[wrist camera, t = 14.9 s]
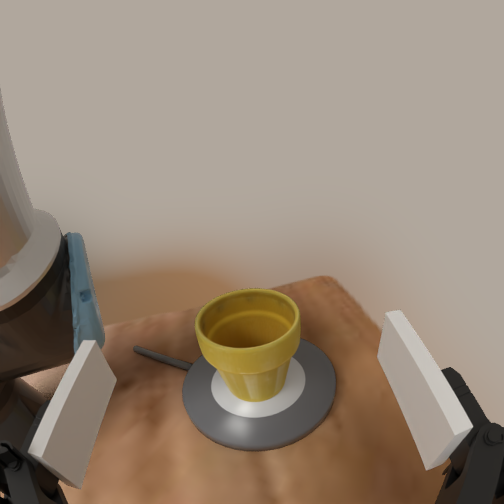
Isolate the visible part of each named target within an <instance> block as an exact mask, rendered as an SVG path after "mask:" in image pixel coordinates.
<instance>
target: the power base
mask: <svg viewBox="0 0 504 504" xmlns="http://www.w3.org/2000/svg"><path fill="white" fill-rule="evenodd" d="M133 350H134V351H135V352H137V353H140V354H142V355H145V356H148V357H150V358H153V359H156V360H159V361H162V362H164V363H167V364H170V365H173V366H176V367H179V368H182V369H185V370H189V371H188V373H187V375H186V377H185V380H184V383H183V390H182V393H183V402H184V406H185V408H186V411H187V413H188V415H189V417H190V419H191V421H192V422H193V424H194V425H195V427H196V428H197V429H198V430H199V431H200V432H201V433H202V434H203V435H205V436H206V437H207V438H209V439H210V440H212V441H214V442H215V443H218V444H220V445H222V446H225V447H228V448H232V449H235V450H242V451H267V450H273V449H278V448H282V447H285V446H287V445H290V444H293V443H295V442H297V441H299V440H301V439H303V438H304V437H306V436H307V435H309V434H310V433H312V432H313V431H314V430H315V429H316V428H317V427H318V426H319V425H320V424H321V423H322V422H323V420H324V419H325V418H326V416H327V415H328V413H329V411H330V409H331V407H332V404H333V401H334V397H335V389H336V377H335V371H334V368H333V366H332V364H331V362H330V360H329V358H328V357H327V356H326V355H325V353H323V352H322V351H321V350H320V349H319V348H318V347H316V346H315V345H314V344H312V343H310V342H308V341H306V340H304V339H301V338H300V343H299V346H298V349H297V351H296V352H295V354H294V355H293V356H292V357H291V360H290V364H289V368H288V372H287V376H286V380H285V384H284V386H283V388H282V389H281V391H280V392H279V393H278V394H277V395H275V396H274V397H272V398H270V399H268V400H265V401H261V402H248V401H244V400H241V399H239V398H237V397H236V396H234V395H233V394H232V393H231V392H230V390H229V388H228V387H227V385H226V384H225V382H224V380H223V379H222V377H221V375H220V374H219V372H218V370H217V369H216V368H215V367H214V366H212V365H211V364H210V363H209V362H208V361H207V360H206V359H205V357H204V356H203V355H201V356H200V357H199V358H198V359H197V360H196V361H195V362H194V364H190V363H187V362H184V361H181V360H178V359H174V358H171V357H168V356H165V355H162V354H159V353H156V352H153V351H150V350H148V349H145V348H142V347H139V346H134V347H133Z"/></svg>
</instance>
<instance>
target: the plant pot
mask: <svg viewBox="0 0 504 504" xmlns="http://www.w3.org/2000/svg"><path fill="white" fill-rule="evenodd" d="M195 331H196V336H197V339H198V343H199V346H200V349H201V351H202V354H203V356H204V357H205V359H206V360H207V361H208V362H209V363H210V364H211V365H212V366H214V367H215V368H216V369H217V370H218V372H219V374H220V375H221V377H222V379H223V380H224V382H225V384H226V385H227V387H228V388H229V390H230V392H231V393H232V394H233V395H234V396H236V397H237V398H239V399H241V400H244V401H248V402H261V401H265V400H268V399H270V398H272V397H274V396H275V395H277V394H278V393H279V392H280V391H281V389H282V388H283V386H284V384H285V380H286V376H287V372H288V368H289V364H290V360H291V357H292V356H293V355H294V354H295V352H296V351H297V349H298V346H299V343H300V333H301V319H300V311H299V308H298V306H297V305H296V303H295V302H294V301H293V300H292V299H291V298H289V297H288V296H286V295H284V294H282V293H280V292H277V291H274V290H269V289H260V288H254V289H253V288H250V289H241V290H236V291H232V292H228V293H226V294H223V295H220V296H218V297H216V298H214V299H213V300H211V301H209V302H208V303H207V304H205V305H204V306H203V307H202V308H201V310H200V311H199V312H198V314H197V316H196V319H195Z"/></svg>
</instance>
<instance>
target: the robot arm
mask: <svg viewBox="0 0 504 504" xmlns="http://www.w3.org/2000/svg"><path fill="white" fill-rule="evenodd" d="M104 342H105V333H104V328H103V324H102V319H101V315H100V311H99V307H98V302H97V299H96V294H95V290H94V286H93V281H92V277H91V272H90V268H89V263H88V258H87V254H86V249H85V244H84V241H83V238H82V236H81V235H80V234H79V233H70V232H69V233H67V234H65V236H63V235H62V233H61V230H60V228H59V225H58V223H57V221H56V219H55V218H54V217H53V216H52V215H51V214H49V213H47V212H45V211H42V210H38V209H34V208H33V206H32V203H31V201H30V198H29V195H28V193H27V190H26V187H25V184H24V181H23V178H22V175H21V172H20V169H19V166H18V162H17V159H16V155H15V152H14V148H13V145H12V141H11V137H10V133H9V129H8V125H7V121H6V116H5V111H4V106H3V101H2V96H1V90H0V491H1V492H2V493H4V498H2V497H0V504H68V502H67V500H66V498H65V496H64V493H63V491H62V488H61V487H60V485H59V484H58V481H59V480H61V481H62V482H63V483H65V484H66V485H68V486H71V487H75V488H78V489H81V487H82V484H83V480H84V477H85V473H86V470H87V467H88V463H89V460H90V457H91V453H92V450H93V447H94V444H95V441H96V438H97V435H98V432H99V429H100V426H101V423H102V420H103V417H104V414H105V411H106V408H107V406H108V403H109V400H110V397H111V395H112V392H113V389H114V386H115V384H116V381H117V379H116V377H115V376H114V374H113V372H112V370H111V368H110V367H109V365H108V363H107V361H106V359H105V357H104V355H103V353H102V351H101V349H102V347H103V345H104ZM377 358H378V360H379V362H380V364H381V366H382V369H383V371H384V373H385V375H386V377H387V379H388V381H389V384H390V386H391V388H392V390H393V392H394V395H395V397H396V399H397V401H398V403H399V406H400V408H401V410H402V413H403V415H404V417H405V420H406V422H407V424H408V427H409V429H410V431H411V434H412V436H413V439H414V441H415V443H416V446H417V448H418V451H419V453H420V456H421V458H422V461H423V464H424V466H425V469H426V471H427V470H430V469H432V468H434V467H437V466H439V465H441V464H443V463H444V462H445V461H446V460H447V459H448V458H450V460H451V462H452V463H451V464H450V465H449V466H448V467H447V468H446V469H445V470H444V472H443V473H442V475H445V474H446V473H447V474H446V477H445V480H444V482H443V485H442V487H441V490H440V492H439V495H438V497H437V500H436V502H435V504H504V427H501V426H500V425H499V424H496V423H491V422H490V421H489V420H488V419H487V417H486V416H485V414H484V412H483V410H482V409H481V407H480V405H479V404H478V402H477V400H476V399H475V397H474V396H473V394H472V393H471V391H470V389H469V388H468V386H466V383H465V381H464V380H463V378H462V377H461V375H460V374H459V373H458V372H457V371H455V370H454V369H453V368H451V367H449V368H446V369H443V370H440V369H439V367H438V365H437V364H436V362H435V360H434V359H433V357H432V356H431V354H430V353H429V351H428V350H427V348H426V347H425V345H424V343H423V342H422V341H421V339H420V337H419V336H418V334H417V333H416V331H415V330H414V329H413V327H412V326H411V324H410V323H409V321H408V320H407V318H406V317H405V316H404V314H403V313H402V311H401V310H396V311H391V312H386V313H385V318H384V324H383V329H382V335H381V340H380V345H379V350H378V355H377ZM68 363H70V365H69V367H68V368H67V370H66V372H65V374H64V376H63V378H62V380H61V382H60V384H59V386H58V388H57V390H56V391H55V393H54V395H53V397H52V399H51V401H50V400H47V398H46V397H45V396H44V395H42V394H41V393H40V392H38V391H37V390H36V389H34V388H33V387H32V386H30V385H29V384H28V383H26V382H25V381H24V380H23V379H21V378H20V377H23V376H26V375H30V374H33V373H37V372H40V371H44V370H47V369H51V368H54V367H58V366H61V365H65V364H68Z"/></svg>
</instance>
